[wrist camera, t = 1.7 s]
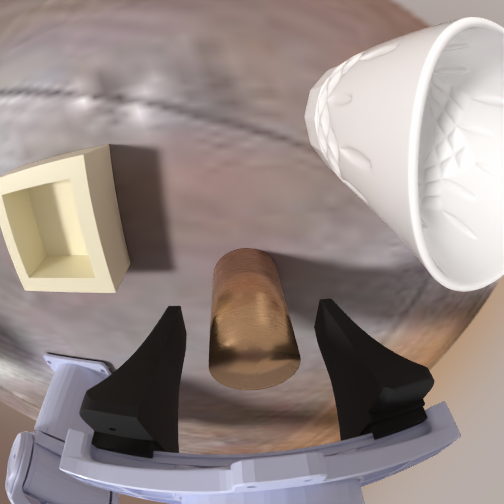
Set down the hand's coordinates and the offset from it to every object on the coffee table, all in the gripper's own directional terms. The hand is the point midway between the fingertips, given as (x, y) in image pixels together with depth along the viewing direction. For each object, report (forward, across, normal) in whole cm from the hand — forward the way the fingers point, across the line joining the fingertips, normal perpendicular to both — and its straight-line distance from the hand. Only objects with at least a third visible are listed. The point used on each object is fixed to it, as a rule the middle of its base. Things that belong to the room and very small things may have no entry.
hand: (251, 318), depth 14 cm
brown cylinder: (+4, 0, 0) cm, 4 cm away
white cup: (+4, -6, -10) cm, 12 cm away
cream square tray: (+4, +11, -5) cm, 13 cm away
